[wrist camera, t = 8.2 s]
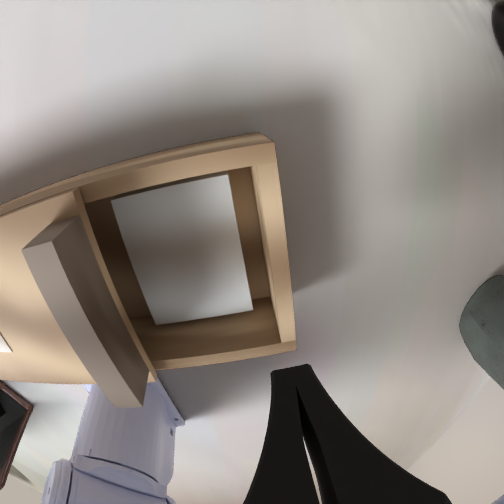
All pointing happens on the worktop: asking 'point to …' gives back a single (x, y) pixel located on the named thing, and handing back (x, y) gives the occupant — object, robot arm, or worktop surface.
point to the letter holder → (11, 427)
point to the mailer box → (194, 248)
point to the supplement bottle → (499, 24)
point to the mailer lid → (64, 305)
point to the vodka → (486, 327)
